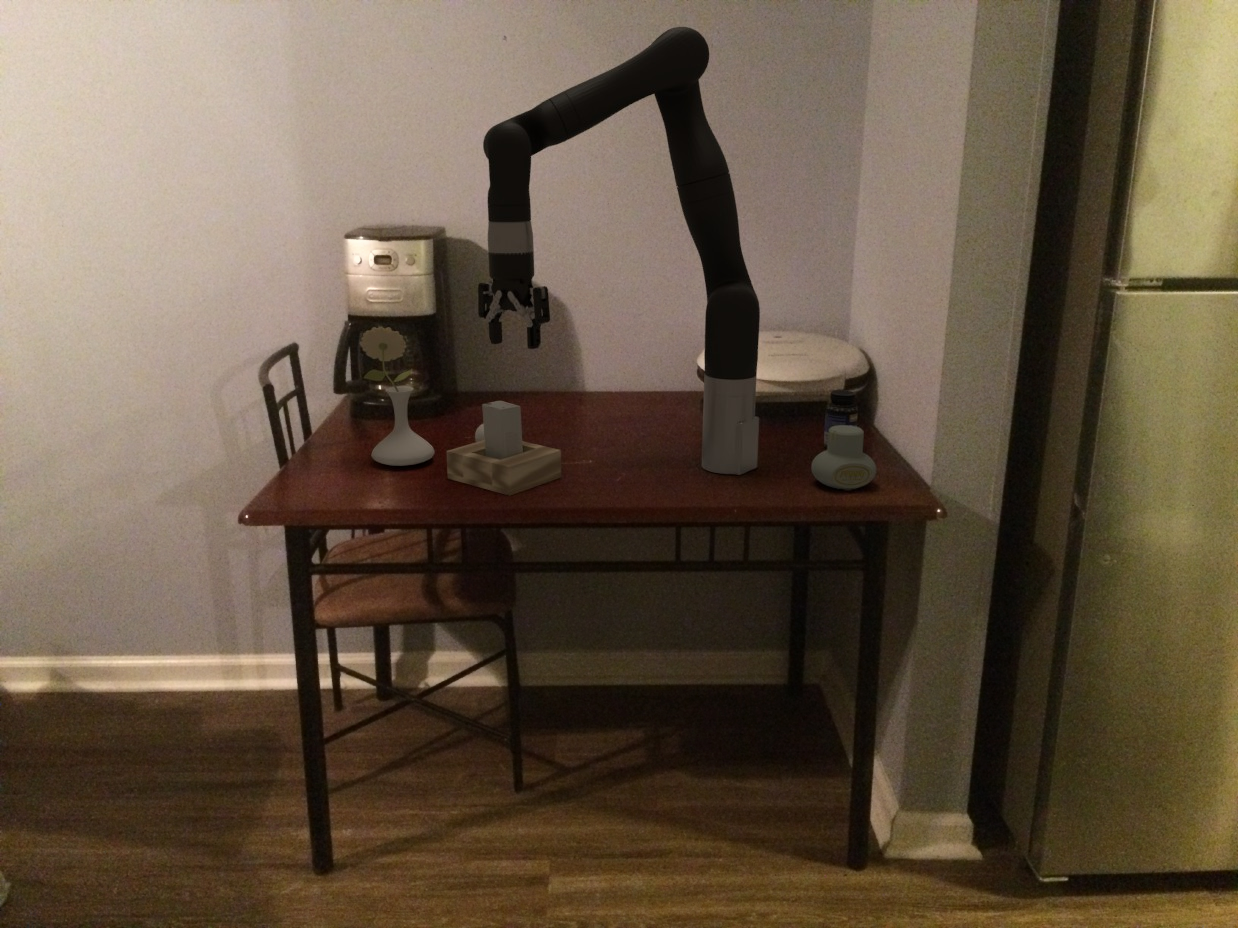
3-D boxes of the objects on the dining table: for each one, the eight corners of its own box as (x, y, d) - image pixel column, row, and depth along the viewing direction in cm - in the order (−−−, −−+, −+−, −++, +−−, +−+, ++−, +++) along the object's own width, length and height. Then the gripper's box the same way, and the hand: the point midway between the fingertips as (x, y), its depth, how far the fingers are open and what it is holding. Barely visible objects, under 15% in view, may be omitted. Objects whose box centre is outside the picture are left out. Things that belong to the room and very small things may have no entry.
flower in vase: (445, 456, 192) (439, 323, 184) (418, 473, 181) (410, 333, 174) (382, 450, 195) (374, 320, 188) (352, 467, 185) (342, 330, 177)
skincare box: (525, 473, 178) (523, 405, 175) (504, 478, 175) (502, 409, 172) (504, 465, 182) (502, 399, 179) (483, 470, 180) (481, 403, 176)
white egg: (504, 446, 199) (503, 418, 197) (505, 454, 193) (504, 425, 192) (464, 447, 197) (463, 419, 196) (464, 455, 192) (463, 427, 190)
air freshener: (863, 476, 181) (867, 422, 178) (881, 491, 173) (886, 434, 170) (804, 479, 180) (807, 424, 177) (819, 493, 172) (823, 436, 169)
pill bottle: (853, 453, 195) (857, 397, 192) (821, 450, 197) (824, 394, 194) (856, 445, 201) (861, 390, 197) (825, 442, 202) (829, 388, 199)
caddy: (561, 477, 179) (560, 450, 178) (509, 495, 170) (508, 467, 168) (499, 461, 188) (499, 435, 187) (447, 478, 178) (446, 451, 177)
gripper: (558, 249, 168) (560, 347, 173) (495, 246, 176) (499, 339, 181) (527, 253, 162) (531, 353, 167) (464, 249, 170) (469, 345, 175)
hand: (514, 346), depth 174 cm, fingers open, 8 cm apart
